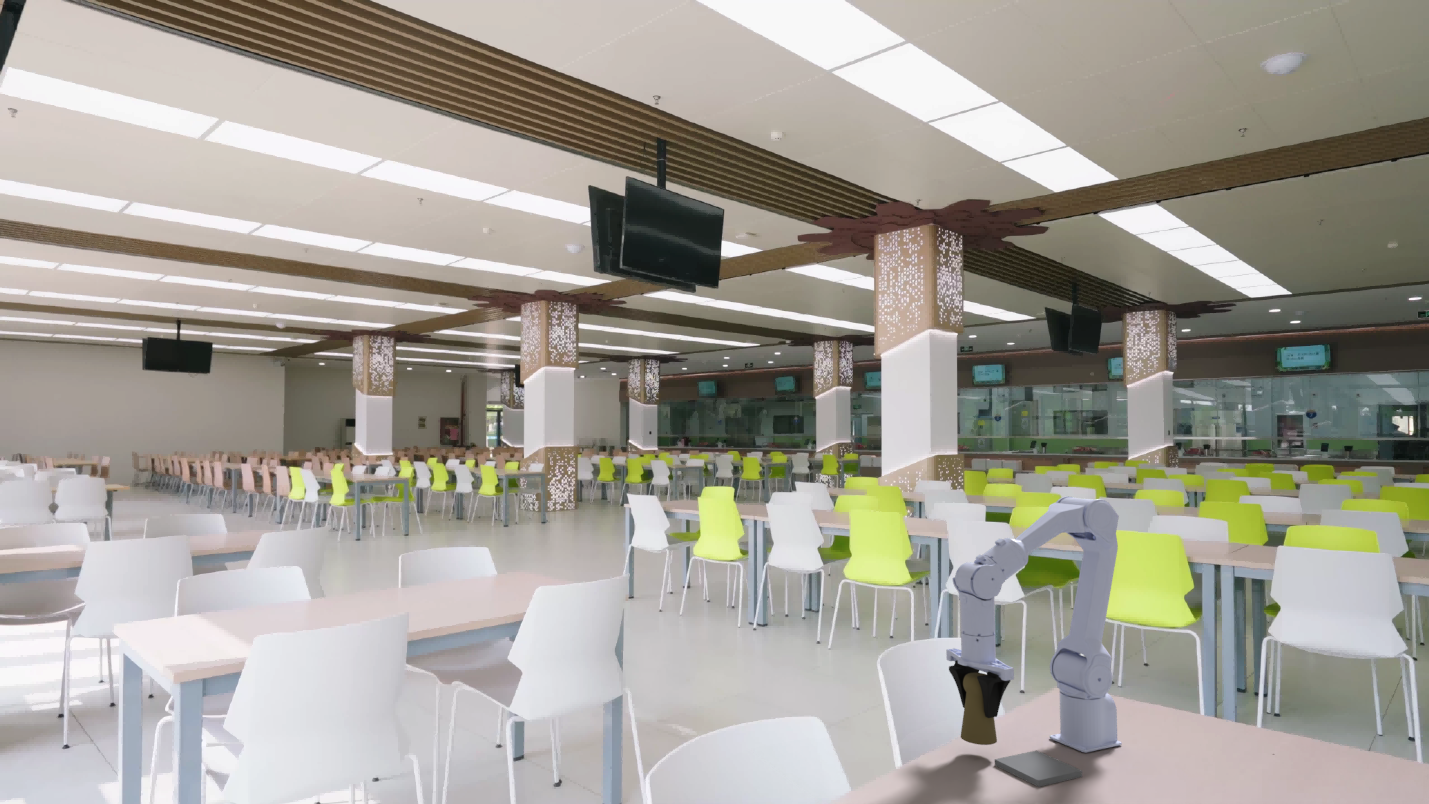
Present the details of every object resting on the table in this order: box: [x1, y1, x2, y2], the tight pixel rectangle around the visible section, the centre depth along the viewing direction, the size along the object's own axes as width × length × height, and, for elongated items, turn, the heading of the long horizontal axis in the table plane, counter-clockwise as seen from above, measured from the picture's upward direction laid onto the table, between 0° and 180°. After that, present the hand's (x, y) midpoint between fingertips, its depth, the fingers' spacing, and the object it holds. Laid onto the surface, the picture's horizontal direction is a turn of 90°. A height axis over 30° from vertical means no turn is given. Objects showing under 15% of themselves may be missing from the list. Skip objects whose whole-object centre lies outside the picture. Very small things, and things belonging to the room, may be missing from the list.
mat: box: [994, 750, 1083, 788], centre depth 134 cm, size 10×10×1 cm
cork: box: [960, 672, 998, 746], centre depth 141 cm, size 6×6×11 cm
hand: (979, 711), depth 141 cm, fingers closed on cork, 5 cm apart
